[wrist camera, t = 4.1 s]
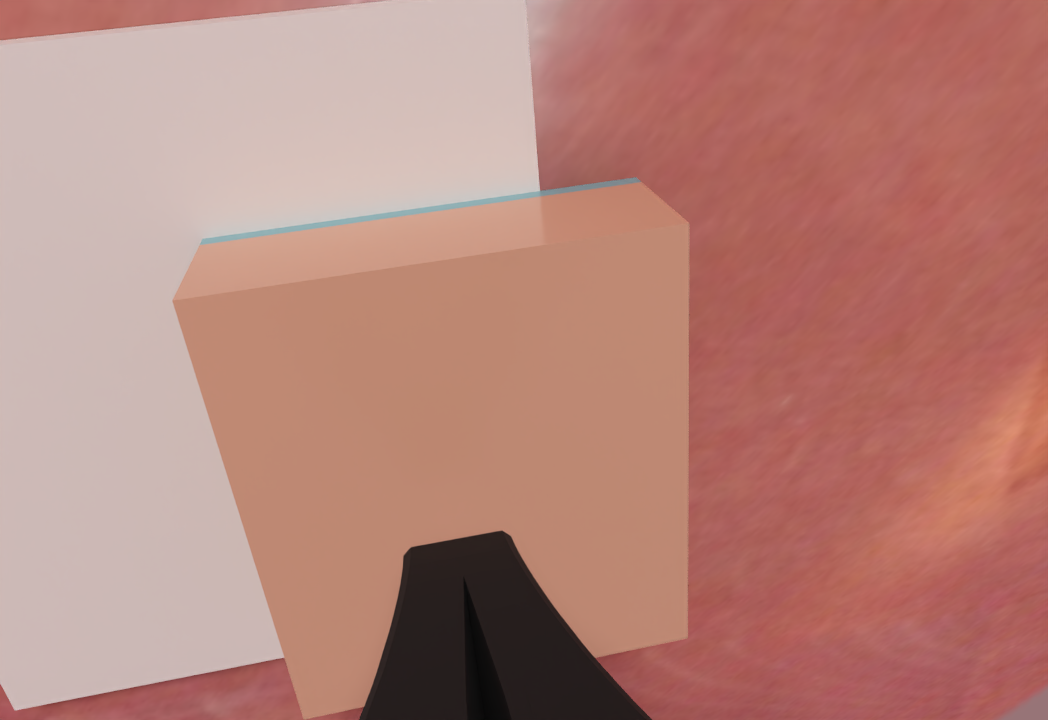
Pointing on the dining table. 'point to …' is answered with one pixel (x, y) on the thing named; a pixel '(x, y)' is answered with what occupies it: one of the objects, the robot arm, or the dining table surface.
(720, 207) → the dining table surface
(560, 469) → the glazed tile
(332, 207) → the pale grey mat
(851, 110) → the dining table surface
